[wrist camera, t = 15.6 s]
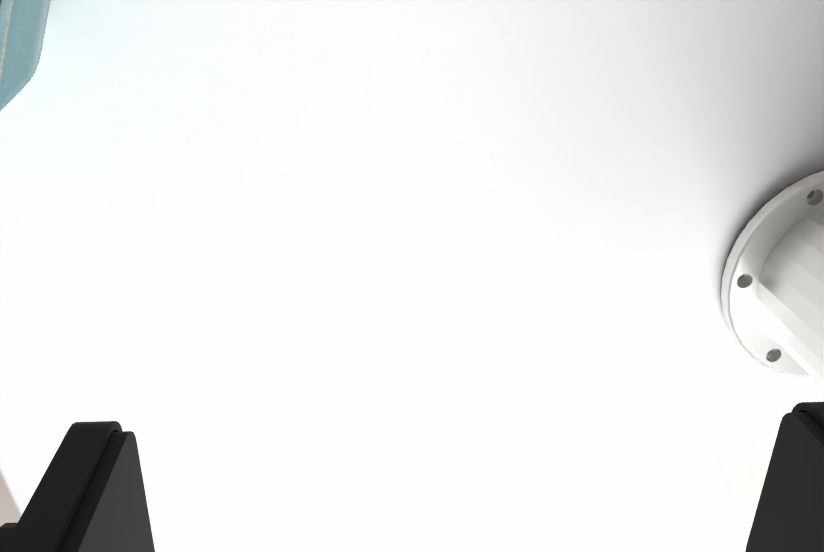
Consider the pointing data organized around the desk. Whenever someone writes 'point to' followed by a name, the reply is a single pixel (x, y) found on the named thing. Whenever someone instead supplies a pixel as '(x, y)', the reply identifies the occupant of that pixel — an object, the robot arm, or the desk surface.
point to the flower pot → (20, 43)
